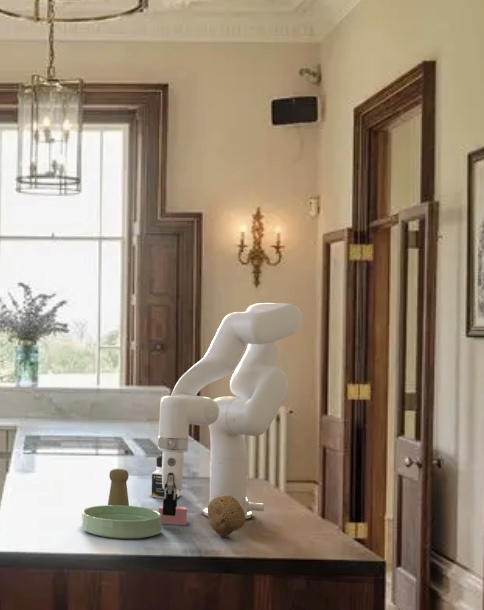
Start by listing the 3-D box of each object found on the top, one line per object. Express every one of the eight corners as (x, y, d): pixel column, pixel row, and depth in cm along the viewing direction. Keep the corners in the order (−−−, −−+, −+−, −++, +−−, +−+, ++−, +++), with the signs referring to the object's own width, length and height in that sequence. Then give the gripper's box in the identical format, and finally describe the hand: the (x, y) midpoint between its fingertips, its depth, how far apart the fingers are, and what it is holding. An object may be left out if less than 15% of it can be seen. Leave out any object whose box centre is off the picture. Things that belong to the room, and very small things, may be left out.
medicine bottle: (151, 497, 293) (152, 455, 293) (157, 493, 300) (158, 452, 300) (175, 499, 290) (176, 457, 290) (180, 495, 297) (181, 454, 297)
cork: (128, 512, 270) (129, 471, 270) (105, 511, 271) (106, 470, 271) (130, 508, 276) (131, 467, 276) (108, 506, 277) (109, 466, 277)
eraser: (186, 522, 258) (186, 507, 258) (186, 525, 255) (186, 509, 255) (159, 521, 259) (159, 505, 259) (158, 523, 256) (158, 508, 256)
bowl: (162, 525, 254) (162, 507, 254) (159, 542, 235) (159, 523, 235) (86, 521, 258) (87, 503, 258) (77, 537, 239) (77, 518, 239)
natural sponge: (245, 534, 246) (245, 493, 246) (245, 542, 237) (245, 499, 237) (207, 531, 248) (208, 490, 248) (205, 539, 239) (206, 497, 240)
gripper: (187, 449, 248) (183, 519, 247) (188, 442, 265) (185, 508, 264) (156, 446, 249) (153, 516, 249) (159, 440, 266) (156, 505, 266)
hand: (169, 512), depth 256 cm, fingers open, 9 cm apart
